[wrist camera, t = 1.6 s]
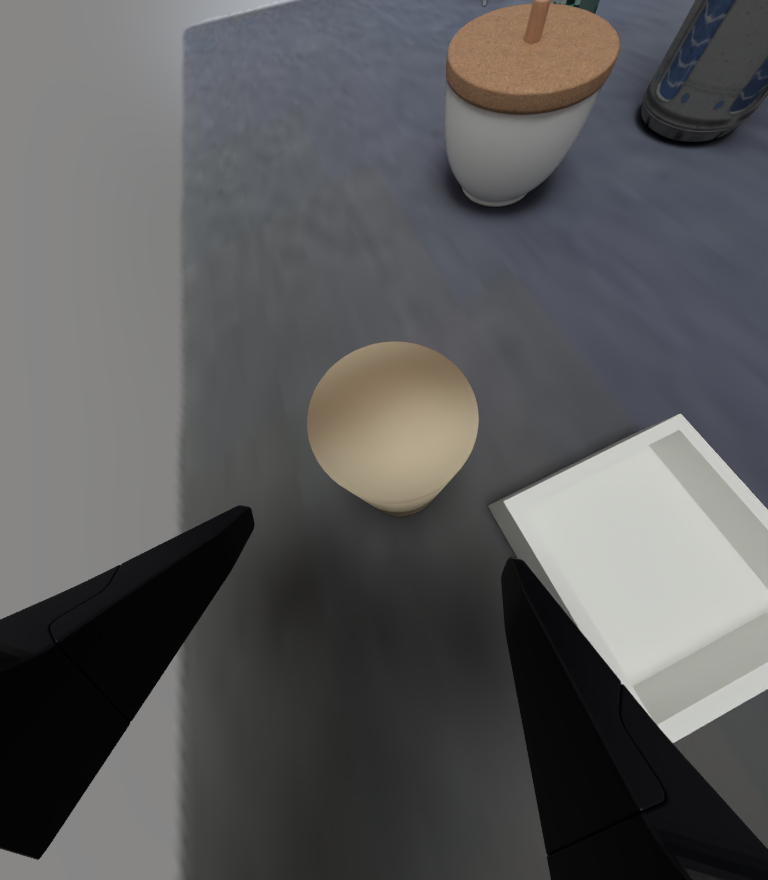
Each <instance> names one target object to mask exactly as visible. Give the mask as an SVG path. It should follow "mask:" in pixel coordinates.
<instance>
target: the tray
mask: <svg viewBox="0 0 768 880" xmlns="http://www.w3.org/2000/svg"><path fill="white" fill-rule="evenodd" d="M488 508H489V510H490V511H491V513H492V515H493V517H494V518H495V520H496V522H497V524H498V525H499V527H500V529H501V530H502V532H503V534H504V536H505V537H506V539H507V541H508V543H509V544H510V546H511V548H512V550H513V551H514V553H515V555H516V557H517V558H518V559H522V560H523V561H525V563H526V564H527V565H528V566H529V567H530V569H531V570H532V571H533V572H534V574H535V575H536V576H537V577H538V579H539V580H540V581H541V582H542V584H543V585H544V586H545V587H546V589H547V590H548V591H549V592H550V594H551V595H552V596H553V597H554V599H555V600H556V601H557V602H558V603H559V605H560V606H561V607H562V608H563V610H564V611H565V612H566V613H567V615H568V616H569V617H570V618H571V620H572V621H573V622H574V623H575V625H576V626H577V627H578V628H579V630H580V631H581V632H582V633H583V635H584V636H585V637H586V638H587V639H588V641H589V642H590V643H591V644H592V646H593V647H594V648H595V649H596V651H597V652H598V653H599V654H600V656H601V657H602V658H603V659H604V661H605V662H606V663H607V664H608V666H609V667H610V668H611V669H612V671H613V672H614V673H615V674H616V675H617V677H618V678H619V679H620V681H621V684H624V685H625V686H626V688H627V689H628V690H629V691H630V693H631V694H632V695H633V696H634V698H635V699H636V700H637V701H638V703H639V704H640V705H641V706H642V707H643V709H644V710H645V711H646V712H647V713H648V715H649V716H650V717H651V718H652V719H653V721H654V722H655V723H656V724H657V725H658V727H659V728H660V729H661V730H662V731H663V733H664V734H665V735H666V736H667V737H668V738H669V739H670V741H671V742H672V743H674V742H676V741H678V740H679V739H681V738H683V737H685V736H686V735H688V734H690V733H692V732H693V731H695V730H697V729H698V728H700V727H702V726H704V725H705V724H707V723H709V722H711V721H712V720H714V719H716V718H718V717H719V716H721V715H723V714H725V713H726V712H728V711H730V710H732V709H733V708H735V707H737V706H738V705H740V704H742V703H744V702H745V701H747V700H749V699H751V698H752V697H754V696H756V695H758V694H759V693H761V692H763V691H765V690H766V689H768V510H767V509H766V508H765V506H764V505H763V504H762V503H761V502H760V501H759V500H758V499H757V498H756V496H755V495H754V494H753V493H752V492H751V491H750V490H749V489H748V488H747V486H746V485H745V484H744V483H743V482H742V481H741V480H740V479H739V478H738V477H737V475H736V474H735V473H734V472H733V471H732V470H731V469H730V468H729V467H728V465H727V464H726V463H725V462H724V461H723V460H722V459H721V458H720V457H719V455H718V454H717V453H716V452H715V451H714V450H713V449H712V448H711V447H710V446H709V444H708V443H707V442H706V441H705V440H704V439H703V438H702V437H701V436H700V434H699V433H698V432H697V431H696V430H695V429H694V428H693V427H692V426H691V424H690V423H689V422H688V421H687V420H686V419H685V418H684V417H683V416H682V415H681V414H678V415H676V416H674V417H671V418H669V419H667V420H664V421H662V422H659V423H657V424H655V425H652V426H650V427H647V428H645V429H643V430H640V431H638V432H636V433H634V434H632V435H630V436H628V437H626V438H624V439H622V440H620V441H618V442H615V443H613V444H611V445H609V446H607V447H605V448H603V449H601V450H599V451H597V452H595V453H593V454H591V455H589V456H587V457H585V458H583V459H581V460H579V461H577V462H575V463H573V464H571V465H569V466H567V467H565V468H563V469H561V470H559V471H557V472H555V473H553V474H551V475H549V476H547V477H545V478H543V479H541V480H539V481H537V482H535V483H532V484H530V485H528V486H526V487H524V488H522V489H520V490H518V491H516V492H514V493H512V494H510V495H508V496H506V497H504V498H502V499H500V500H498V501H496V502H494V503H492V504H490V505H488Z"/></svg>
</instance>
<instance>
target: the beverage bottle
mask: <svg viewBox="0 0 768 880" xmlns="http://www.w3.org/2000/svg"><path fill="white" fill-rule="evenodd" d="M767 95H768V0H696V1H695V2H694V4H693V6H692V8H691V10H690V12H689V13H688V15H687V17H686V19H685V21H684V23H683V24H682V26H681V28H680V30H679V32H678V34H677V35H676V37H675V39H674V41H673V43H672V44H671V46H670V48H669V50H668V52H667V54H666V55H665V57H664V59H663V61H662V63H661V65H660V66H659V68H658V70H657V72H656V74H655V76H654V77H653V79H652V81H651V83H650V85H649V87H648V88H647V91H646V92H645V95H644V98H643V104H642V110H641V115H642V118H643V121H644V122H645V123H646V124H648V127H650V128H651V129H652V130H653V131H655V132H656V133H658V134H659V135H661V136H663V137H666V138H669V139H672V140H677V141H686V142H697V141H708V140H712V139H714V138H719V137H722V136H724V135H726V134H727V133H729V132H730V131H732V130H733V129H735V128H736V127H737V126H739V125H740V124H742V123H743V122H744V121H745V120H746V119H748V118H749V117H750V115H751V114H752V113H753V112H754V111H755V109H756V108H757V107H758V106H759V105H760V103H761V102H762V101H763V100H764V99H765V97H766V96H767Z"/></svg>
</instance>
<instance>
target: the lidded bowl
mask: <svg viewBox="0 0 768 880" xmlns="http://www.w3.org/2000/svg"><path fill="white" fill-rule="evenodd" d="M550 3H551V0H533V3H532V4H521V5H515V6H510V7H506V8H502V9H497V10H495V11H492V12H489V13H487V14H484V15H482V16H480V17H477V18H476V19H474V20H472V21H471V22H469V23H468V24H466V25H465V26H464V27H462V28H461V29H460V30H459V31H458V32H457V33H456V35H455V36H454V37H453V39H452V41H451V42H450V45H449V47H448V51H447V59H446V79H447V80H446V91H445V108H444V135H445V147H446V152H447V157H448V161H449V165H450V167H451V170H452V172H453V174H454V176H455V178H456V179H457V181H458V182H459V184H460V185H461V187H462V190H463V192H464V194H465V195H466V197H468V198H469V199H470V200H471V201H473V202H475V203H477V204H480V205H483V206H489V207H501V206H507V205H511V204H513V203H516V202H518V201H519V200H521V199H522V198H523V197H524V196H525V195H526V194H527V193H528V192H530V191H531V190H533V189H534V188H536V187H537V186H538V185H540V184H541V183H542V182H543V181H545V180H546V179H547V178H548V177H549V176H550V175H551V174H552V173H553V171H554V170H555V169H556V168H557V167H558V166H559V164H560V163H561V162H562V161H563V159H564V158H565V156H566V155H567V153H568V152H569V150H570V148H571V147H572V145H573V144H574V142H575V140H576V139H577V137H578V135H579V134H580V132H581V130H582V128H583V126H584V124H585V123H586V121H587V119H588V117H589V114H590V112H591V110H592V108H593V106H594V104H595V102H596V99H597V97H598V95H599V93H600V90H601V88H602V86H603V85H604V83H605V81H606V80H607V78H608V76H609V74H610V72H611V70H612V68H613V66H614V64H615V61H616V59H617V56H618V53H619V39H618V35H617V33H616V31H615V30H614V28H613V27H612V26H611V25H610V24H609V23H608V22H607V21H606V20H604V19H603V18H601V17H599V16H597V15H596V14H594V13H592V12H590V11H587V10H584V9H580V8H577V7H573V6H569V5H561V4H550Z"/></svg>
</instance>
